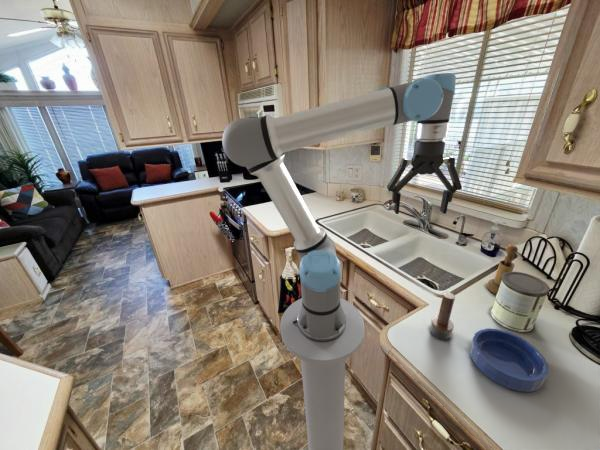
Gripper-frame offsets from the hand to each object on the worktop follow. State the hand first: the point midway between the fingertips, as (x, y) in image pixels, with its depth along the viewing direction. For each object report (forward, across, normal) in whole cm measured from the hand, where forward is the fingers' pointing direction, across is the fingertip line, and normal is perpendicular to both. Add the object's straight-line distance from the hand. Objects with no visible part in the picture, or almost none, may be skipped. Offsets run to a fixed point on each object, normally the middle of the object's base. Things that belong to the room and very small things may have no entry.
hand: (419, 212), depth 76 cm
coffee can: (+32, +28, -10) cm, 44 cm away
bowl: (+32, +17, -26) cm, 44 cm away
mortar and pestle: (+32, +32, +4) cm, 45 cm away
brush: (+32, +5, -17) cm, 36 cm away
